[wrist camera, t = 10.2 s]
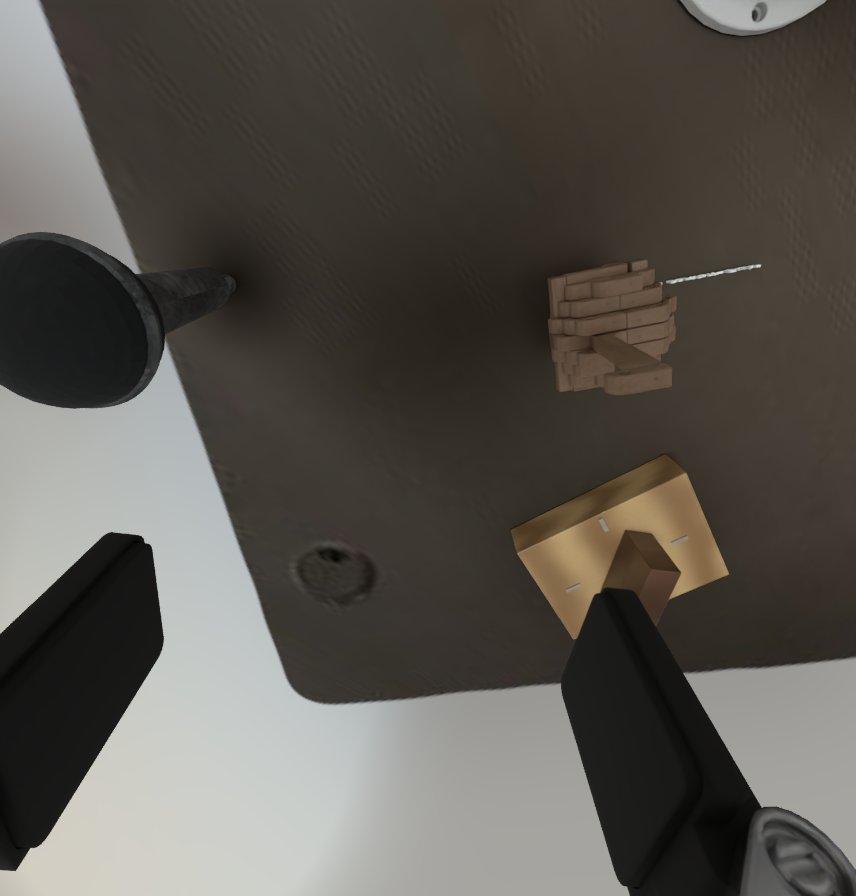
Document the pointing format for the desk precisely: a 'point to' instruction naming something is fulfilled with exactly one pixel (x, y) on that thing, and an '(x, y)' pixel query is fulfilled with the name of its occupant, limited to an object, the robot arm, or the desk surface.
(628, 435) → the desk surface
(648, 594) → the arm
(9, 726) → the robot arm
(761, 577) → the desk surface
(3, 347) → the microphone
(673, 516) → the wooden dial board
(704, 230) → the desk surface
